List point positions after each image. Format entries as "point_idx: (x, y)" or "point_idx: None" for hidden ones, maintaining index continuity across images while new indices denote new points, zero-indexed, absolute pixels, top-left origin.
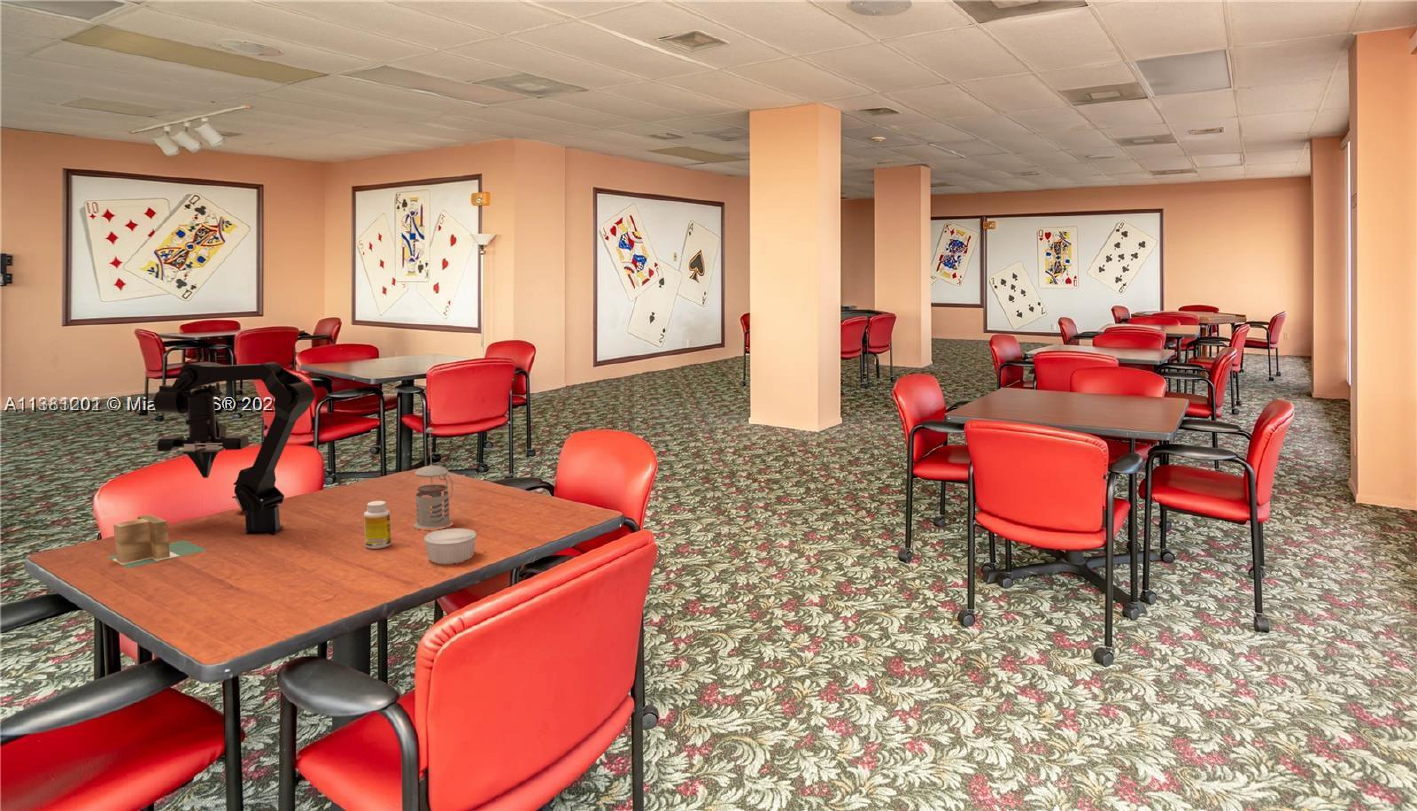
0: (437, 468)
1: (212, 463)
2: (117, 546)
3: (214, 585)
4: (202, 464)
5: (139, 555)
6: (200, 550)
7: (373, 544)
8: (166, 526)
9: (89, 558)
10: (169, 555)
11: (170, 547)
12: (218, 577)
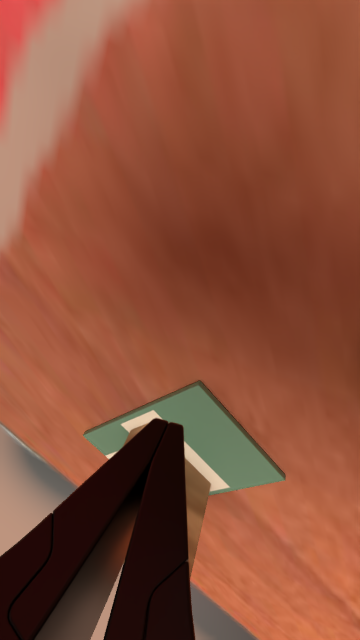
0: None
1: (188, 573)
2: None
3: (330, 609)
4: (106, 578)
5: None
6: (268, 476)
7: None
8: (191, 563)
9: (49, 414)
10: (210, 486)
11: (186, 429)
12: (333, 590)
